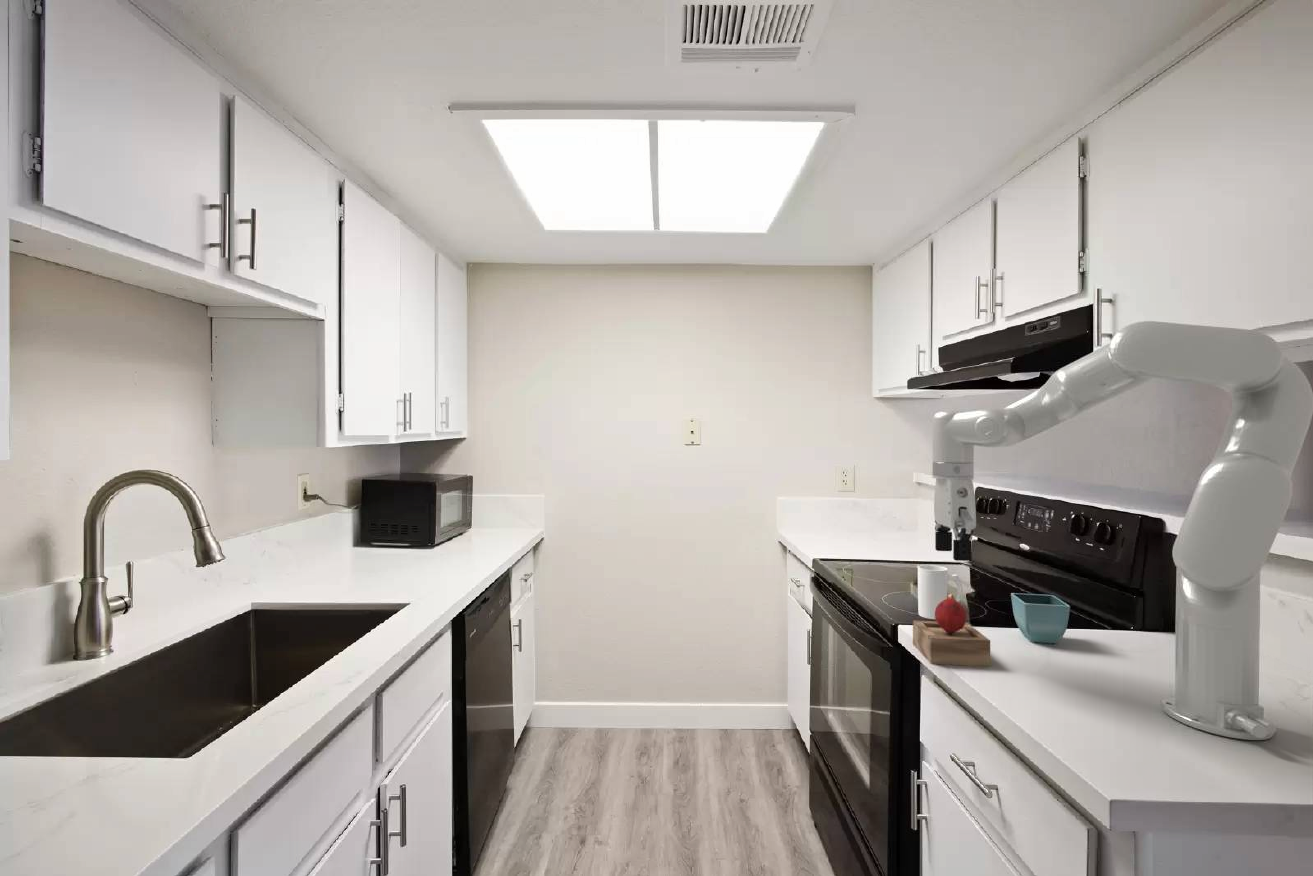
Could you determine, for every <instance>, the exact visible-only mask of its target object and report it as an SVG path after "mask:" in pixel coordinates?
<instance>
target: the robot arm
mask: <svg viewBox="0 0 1313 876" xmlns="http://www.w3.org/2000/svg"><path fill="white" fill-rule="evenodd" d="M1157 378H1160V379H1166V380H1172V381H1173V380H1174V381H1178V382H1179V381H1180V382H1185V383H1186V382H1187V383H1194V384H1202V385H1206V386H1207V385H1209V386H1215V387H1217V388H1218V389H1221V390H1223V391H1225V392H1226V393H1228V394H1229V396H1230V399H1231V402H1232V407H1231V411H1230V415H1229V417H1228V420H1227V422H1226V425H1225V428H1224V431H1223V435H1222V437H1221V438H1220V439H1221V440H1220V442H1219V445H1218V446H1217V447H1218V448H1217V449H1216V452H1215V454H1214V457H1213V459H1212V460H1211V461H1210V462H1211V463H1209V465H1208V466H1207V467H1206V468H1205V469H1204V471H1203V472H1202V473H1201V475H1200V478H1199V479H1198V481H1197V482H1198V483H1197V484H1196V487H1195V489H1194V492H1193V495H1192V498H1191V501H1190V503H1189V506H1188V507H1187V508H1188V509H1187V511H1186V513H1185V516H1184V518H1183V521H1182V524H1181V525H1180V526H1181V527H1180V528H1179V531H1178V534H1177V536H1176V538H1175V540H1174V544H1173V546H1172V554H1171V555H1172V559H1173V562H1174V566H1175V567H1176V586H1175V587H1176V589H1175V593H1176V594H1175V641H1174V642H1175V644H1174V646H1175V648H1174V650H1175V651H1174V652H1175V655H1174V659H1175V661H1174V663H1175V664H1174V665H1175V667H1174V695H1172V696H1167V697H1165V698H1163V699H1162V701H1161V702H1162V705H1161V707H1162V710H1163V711H1164V713H1166V714H1167V715H1168V716H1169V717H1170V718H1172V719H1174V720H1176V721H1178V722H1180V723H1182V724H1184V725H1187V726H1190V727H1192V728H1194V729H1196V730H1201V731H1202V732H1203V731H1204V732H1207V733H1210V734H1214V735H1217V736H1221V737H1225V738H1231V739H1238V740H1246V741H1264V740H1268V739H1270V738H1273V736H1274V734H1275V733H1276V732H1277V729H1278V727H1277V725H1276V724H1274V723H1272V722H1271V721H1269V720H1267V719H1265V718H1264V717H1265V716H1264V714H1265V713H1264V711H1265V710H1264V709H1265V708H1264V706H1262V705H1260V632H1261V630H1260V629H1261V571H1262V569H1263V566H1264V564H1265V562H1266V560H1267V558H1268V555H1269V553H1270V551H1271V549H1272V546H1273V544H1274V542H1275V539H1276V537H1277V535H1278V532H1279V530H1280V528H1281V526H1282V524H1283V521H1284V518H1285V517H1286V513H1287V512H1288V509H1289V506H1290V504H1291V501H1292V497H1293V491H1294V490H1293V483H1292V480H1291V477H1292V473H1293V471H1294V468H1295V465H1296V463H1297V461H1298V458H1299V455H1300V453H1301V450H1302V449H1303V446H1304V445H1303V444H1304V442H1305V439H1306V435H1307V433H1308V431H1309V427H1310V424H1311V422H1312V418H1313V390H1312V386H1311V384H1310V382H1309V380H1308V378H1307V376H1306V375H1305V374H1304V372H1303V371H1302V369H1301V368H1300V367H1299V366H1298V365H1297V364H1296V363H1295V362H1293V360H1291V359H1289V358H1288V357H1287V356H1285V355H1284V353H1283V350H1282V347H1281V346H1280V344H1279V342H1277V340H1275V339H1274V338H1273V337H1271V336H1270V335H1268V334H1266V333H1263V332H1261V331H1257V330H1253V329H1252V330H1251V329H1247V328H1236V327H1222V326H1213V325H1211V326H1210V325H1200V324H1199V325H1198V324H1187V323H1177V322H1168V321H1167V322H1166V321H1165V322H1164V321H1152V320H1146V321H1145V320H1144V321H1137V322H1134V323H1130V324H1128V325H1126V326H1125V327H1122V328H1121V329H1120V330H1118V331H1117V332H1116V333H1115V334H1114V336H1113V337H1112V338H1111V340H1110V342H1109V343H1108V344H1107V343H1106V344H1105V345H1103V346H1102V347H1100V348H1098V349H1096V350H1094V351H1092V352H1091V353H1089V354H1086V355H1084V356H1082V357H1080V358H1079V359H1076V360H1075V361H1073V362H1070V363H1069V364H1067V365H1065V366H1063V367H1061V368H1059V369H1058V370H1056V371H1055V372H1053V373H1052V375H1051V376H1050V377H1049V379H1048V380H1047V381H1046V382H1045V384H1043V385H1042V386H1041V387H1040V388H1038V389H1036V391H1034V392H1031V393H1030V394H1029V395H1027V396H1026V397H1024V398H1022V399H1020V400H1018V401H1016V402H1013V403H1012V404H1010V405H1008V406H1006V407H1004V408H995V407H993V408H992V407H989V408H988V407H987V408H982V409H981V408H980V409H975V410H968V411H967V410H941V411H937V412H935V414H933V417H932V476H931V477H932V479H935V486H934V496H933V497H934V498H933V499H934V500H933V505H934V506H933V507H934V508H933V512H934V513H933V514H934V522H935V526H934V531H935V539H934V541H935V544H934V545H935V546H934V547H935V551H937V552H952V558H953V560H954V561H957V562H959V561H962V562H971V561H972V553H973V552H972V541H973V533H974V529H976V527H977V516H976V515H977V512H976V497H975V495H976V494H975V487H974V482H973V480H974V479H975V476H974V475H975V472H974V470H975V469H974V468H975V465H974V464H975V463H974V462H975V461H974V460H975V458H974V457H975V453H974V452H975V450H974V449H975V446H978V447H983V448H984V447H985V448H1002V447H1003V448H1004V447H1005V448H1006V447H1010V446H1014V445H1016V444H1019V443H1021V442H1023V441H1026V440H1028V439H1030V438H1032V437H1034V436H1036V435H1039V434H1041V433H1043V432H1045V431H1047V430H1049V429H1052V428H1053V427H1055V426H1057V425H1059V424H1061V423H1063V422H1065V421H1067V420H1069V419H1072V418H1074V417H1077V416H1078V415H1081V414H1082V413H1084V412H1086V411H1087V410H1090V409H1092V408H1094V407H1096V406H1098V405H1100V404H1102V403H1105V402H1106V401H1109V400H1110V399H1111V400H1112V399H1113V398H1115V397H1118V396H1119V395H1121V394H1124V393H1126V392H1128V391H1130V390H1133V389H1134V388H1137V387H1139V386H1141V385H1143V384H1146V383H1148V382H1150V381H1152V380H1154V379H1157ZM951 530H952V531H951ZM953 534H954V539H953Z"/></svg>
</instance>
